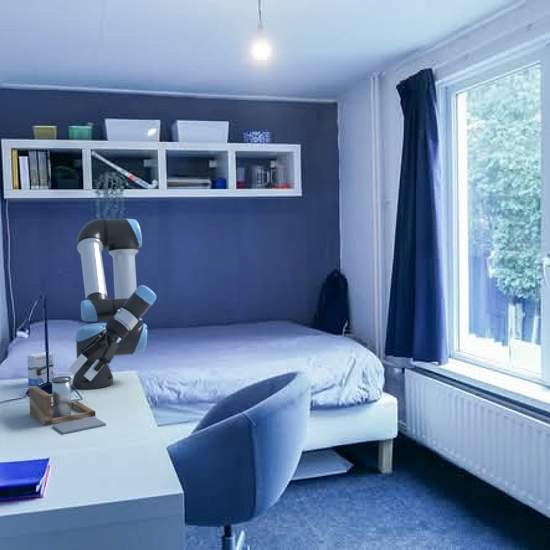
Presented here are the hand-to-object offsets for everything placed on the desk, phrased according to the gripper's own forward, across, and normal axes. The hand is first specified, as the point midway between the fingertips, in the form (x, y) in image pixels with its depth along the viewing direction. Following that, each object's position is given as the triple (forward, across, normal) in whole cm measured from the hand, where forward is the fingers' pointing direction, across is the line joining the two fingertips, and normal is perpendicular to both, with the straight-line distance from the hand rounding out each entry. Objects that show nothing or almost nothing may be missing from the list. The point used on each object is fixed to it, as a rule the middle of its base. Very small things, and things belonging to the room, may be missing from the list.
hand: (79, 375), depth 199 cm
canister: (+13, -1, +5) cm, 13 cm away
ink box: (+6, -49, +10) cm, 50 cm away
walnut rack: (+13, -1, +5) cm, 13 cm away
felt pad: (+13, +14, +5) cm, 20 cm away
